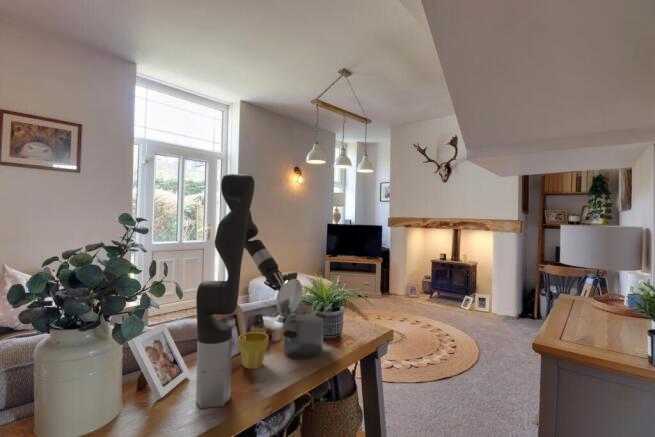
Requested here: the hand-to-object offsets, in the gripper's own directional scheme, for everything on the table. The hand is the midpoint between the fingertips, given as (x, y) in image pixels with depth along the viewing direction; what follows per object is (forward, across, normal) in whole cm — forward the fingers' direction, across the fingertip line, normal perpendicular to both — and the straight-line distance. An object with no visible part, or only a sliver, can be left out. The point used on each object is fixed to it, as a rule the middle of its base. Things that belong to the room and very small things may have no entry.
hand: (287, 296), depth 137 cm
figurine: (+6, -3, +23) cm, 24 cm away
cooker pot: (+20, 0, +8) cm, 22 cm away
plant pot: (+15, -20, +13) cm, 28 cm away
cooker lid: (0, 0, -2) cm, 2 cm away
